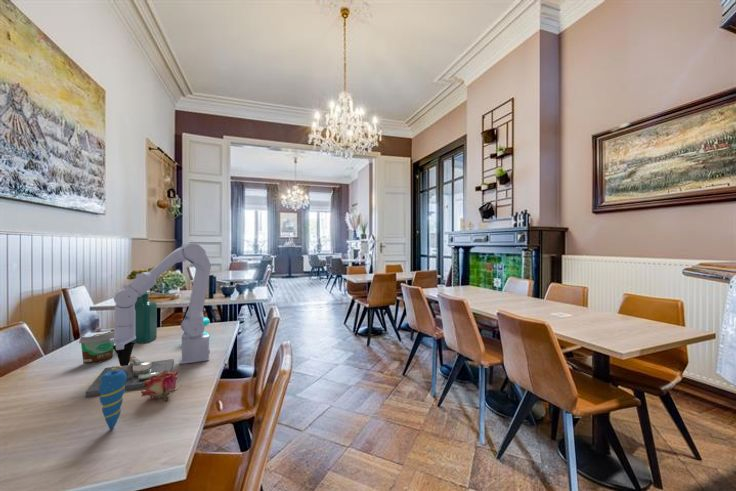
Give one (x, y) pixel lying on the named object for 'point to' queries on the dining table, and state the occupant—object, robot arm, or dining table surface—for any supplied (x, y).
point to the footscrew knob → (140, 366)
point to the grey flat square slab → (132, 376)
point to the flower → (160, 385)
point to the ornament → (112, 395)
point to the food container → (97, 347)
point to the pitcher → (145, 319)
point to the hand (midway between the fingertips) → (124, 365)
